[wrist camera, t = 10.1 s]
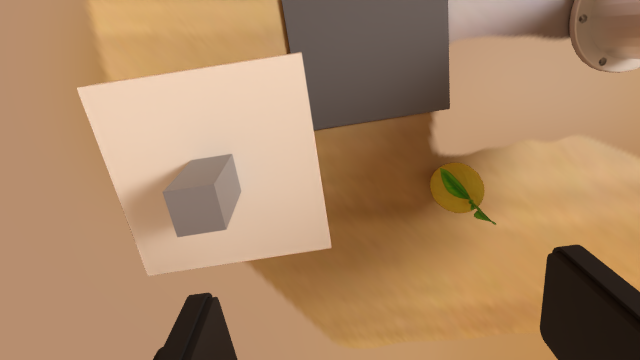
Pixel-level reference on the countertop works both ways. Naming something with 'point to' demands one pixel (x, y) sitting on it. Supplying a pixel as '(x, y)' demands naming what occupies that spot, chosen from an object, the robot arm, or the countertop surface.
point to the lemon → (458, 189)
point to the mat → (371, 57)
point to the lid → (213, 162)
